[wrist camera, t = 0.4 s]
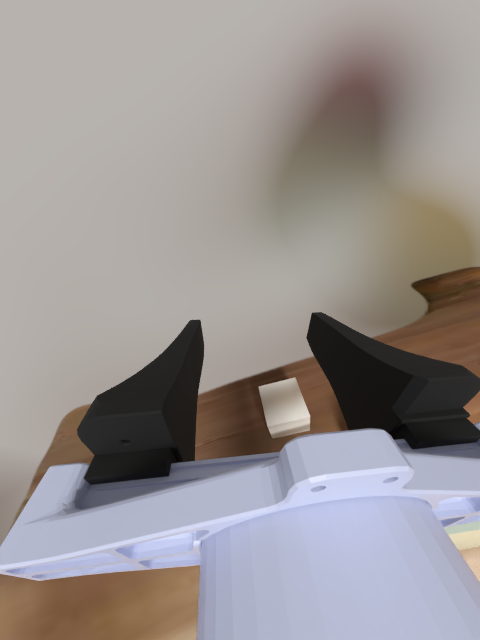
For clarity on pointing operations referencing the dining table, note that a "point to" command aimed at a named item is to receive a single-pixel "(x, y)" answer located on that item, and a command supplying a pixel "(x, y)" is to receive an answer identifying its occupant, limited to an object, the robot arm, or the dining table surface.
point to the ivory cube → (284, 408)
